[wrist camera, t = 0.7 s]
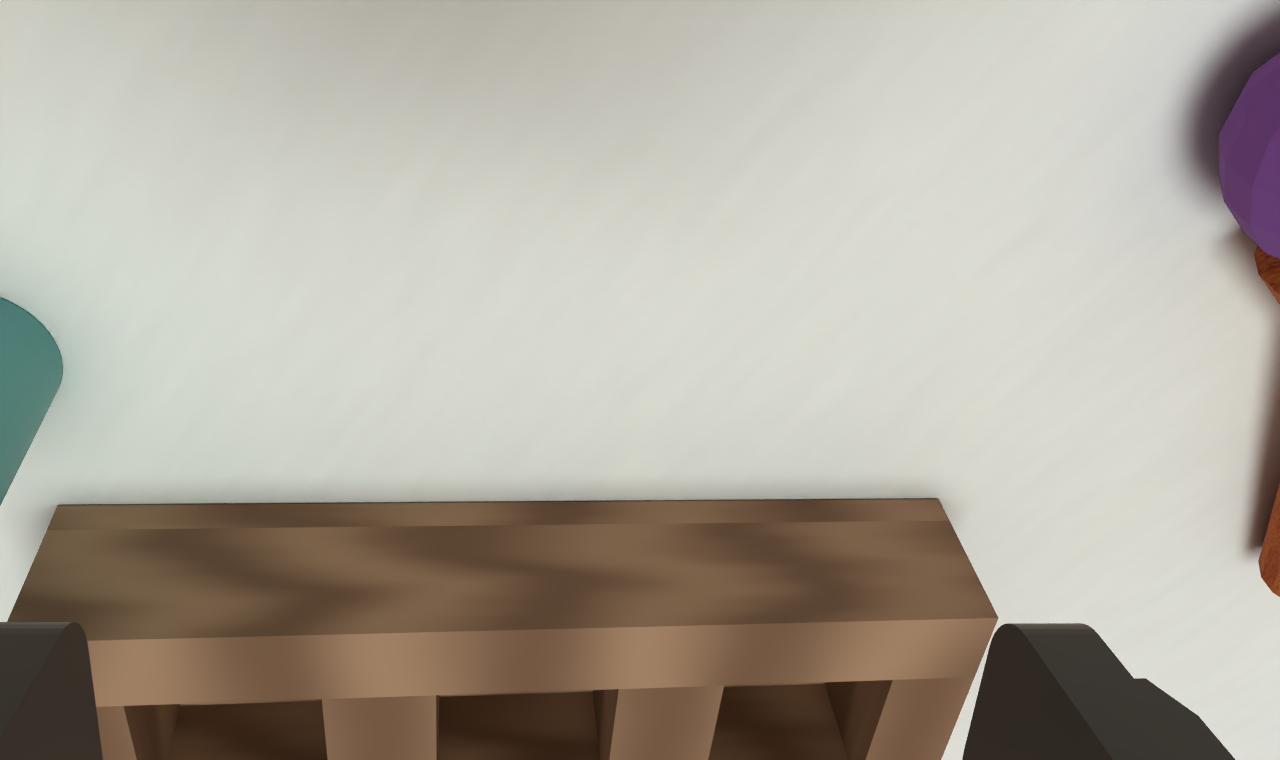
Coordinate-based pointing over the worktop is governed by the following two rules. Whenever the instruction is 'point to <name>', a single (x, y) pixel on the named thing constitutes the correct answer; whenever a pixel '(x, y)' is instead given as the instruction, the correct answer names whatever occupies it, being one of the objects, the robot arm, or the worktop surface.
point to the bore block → (518, 628)
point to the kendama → (1258, 215)
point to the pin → (23, 385)
